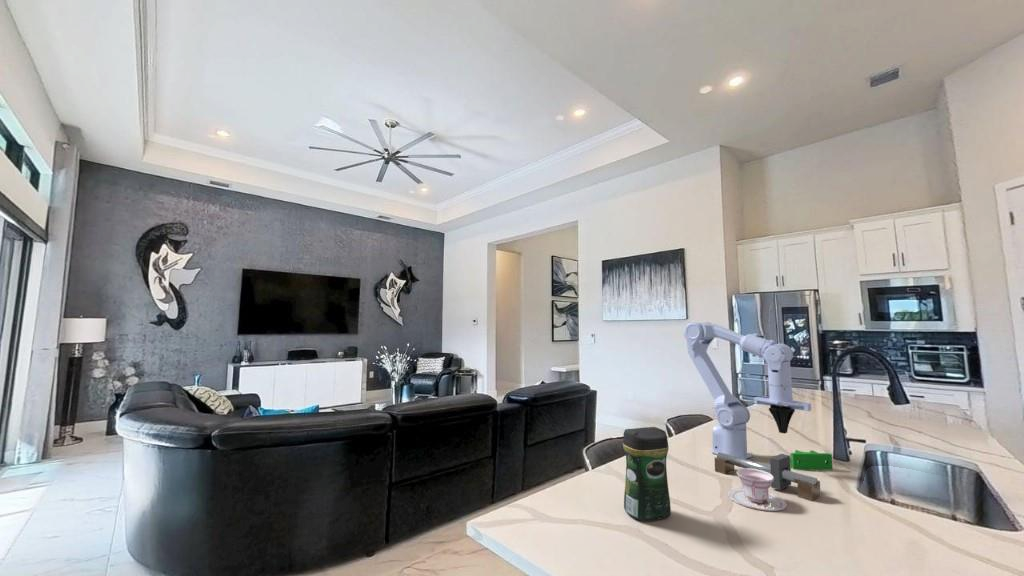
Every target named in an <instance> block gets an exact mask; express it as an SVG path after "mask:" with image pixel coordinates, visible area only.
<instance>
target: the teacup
mask: <svg viewBox="0 0 1024 576" xmlns="http://www.w3.org/2000/svg"><path fill="white" fill-rule="evenodd" d="M736 475H737V477H738V478H739V479H740V482H741V484H742V488H734V489H731V490H730V491H729V492H728V497H729V498H730V500H732V502H735V503H736V504H738V505H741V506H743V507H746V508H749V509H753V510H759V511H763V512H779V511H783V510H786V508H787V503H786V501H785V500H784V499H782V498H781V497H779V496H777V495H776V494H774V493H773V494H772V493H770V492H769V488H771V483H772V482H773V481H774V477H773V476H772V475H771V474H770V473H768V472H765V471H762V470H758V469H752V468H739V469H737V470H736ZM746 498H747V499H746ZM765 501H767V504H766V503H765V504H763V503H764V502H765ZM755 502H756V503H755ZM751 503H754V504H751ZM770 503H771V507H768V506H769V505H770ZM757 504H763V505H764V508H765V509H761V508H756V507H752V505H753V506H755V505H757ZM766 507H768V508H767V509H766ZM773 507H774V509H772V508H773Z"/></svg>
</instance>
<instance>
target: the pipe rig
mask: <svg viewBox="0 0 1024 576" xmlns="http://www.w3.org/2000/svg"><path fill="white" fill-rule="evenodd" d="M735 466H736V467H740V468H741V469H743V468H752V469H758V470H762V471H765V472H768V473H770V474H771V465H768V464H765V463H762V462H759V461H755V460H749V459H748V458H747V459H743V458H740V457H736V456H732V455H729V454H725V453H721V452H719V453H718V454H716V457H714V471H715V472H717V473H720V474H723V475H728V474H729V473H732V472H734V471H735ZM782 479H784V480H788V481H791V483H795V484H797V497H798V498H800V499H804V500H808V501H810V502H813V501H815V500H816V499H818V498H820V497H822V495H821V481H820V480H818V478H816V477H813V476H811V475H810V476H809V475H806V474H802V473H798V472H794V471H788V470H784V469H782Z"/></svg>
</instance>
